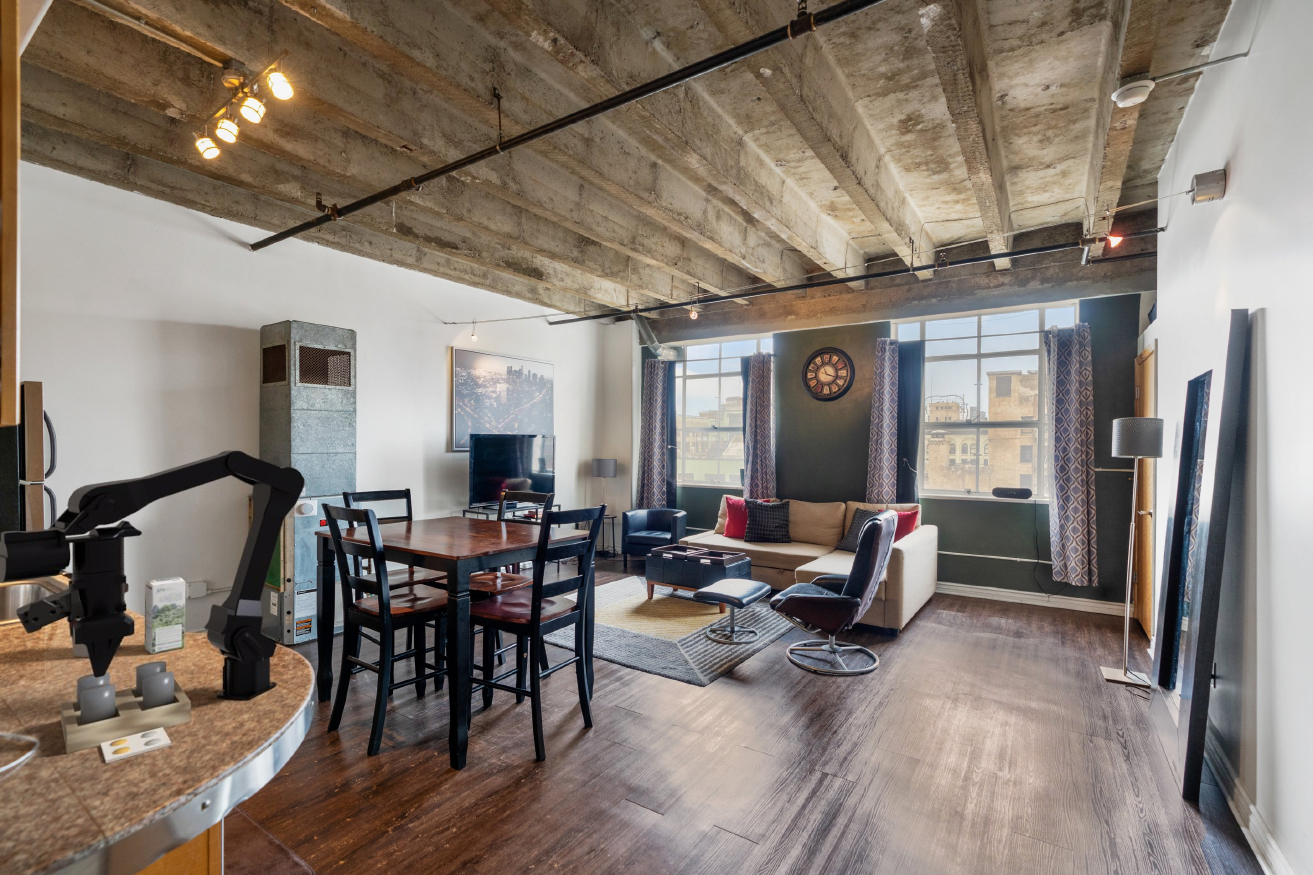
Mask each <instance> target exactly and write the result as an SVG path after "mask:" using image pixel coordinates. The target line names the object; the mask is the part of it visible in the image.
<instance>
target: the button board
mask: <svg viewBox="0 0 1313 875" xmlns="http://www.w3.org/2000/svg"><path fill="white" fill-rule="evenodd" d="M60 716H61V717H60V724H61V728H62V735H63V740H64V745H65V746H64V747H65V750H66V752H65V753H66V754H71V753H75V752H78V751H79V752H80V751H82V750H86V749H90V748H95V747H98V746H101V743H104V742H108V741H111V740H115V739H119V738H123V737H127V736H131V735H134V734H138V733H142V732H146V731H150V730H154V729H157V728H161V727H163V729H166V728H167V729H168V728H170V727H175V726H179V725H182V724H186V723H189V722H192V702H191V700H190V699H189V697H188V696H187V694H186V693H185V691H184V690H183V688H182V687H181V686H180V684H179V683H178V681H177V680H176V679H175V678H174V701H173V702H171V703H169V704H167V705H164V706H160V707H155V708H144V707H143V695H137V694H136V686H134V687H130V688H125V689H121V690H115V715H114V716H112V717H110V718H108V719H105V720H102V721H98V722H92V723H82V722H81V709H79V708H77V699H76V700H71V701H65V702H61V703H60Z"/></svg>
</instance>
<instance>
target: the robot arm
mask: <svg viewBox="0 0 1313 875" xmlns="http://www.w3.org/2000/svg"><path fill="white" fill-rule="evenodd" d="M230 476H231V477H233V478H235V479H237V480H239V481H241V482H243V483H244V484H247V485H250V486H252V493H251V494H252V495H251V499H252V500H251V501H252V506H253V517H252V521H251V525H250V528H249V530H248V534H247V536H246V541H245V544H244V546H243V547H244V548H243V551H242V553H241V557H240V560H239V563H238V567H237V570H236V574H235V577H234V580H233V583H232V586H231V590H230V593H229V595H228V596H227V598H226V599H225V600H224V602H223V603H222V604H220V605H219V604H215V603H213V604H212V605H211V608H210V612H209V614H210V615H209V619H208V621H207V623H206V624H205V626H204V627H203V628H204V629H205V630H207V632H206V633H207V634H206V638H207V640H208V642H209V643H210V644H211V646H213V647H215V648H217V649H218V650H219V652H220V655H222V656H225V657H224V658H223V665H222V691H220V692H218V693H216V694H215V698H221V699H235V700H250V699H253V698H254V697H257V696H259V695H261V694H263V693H265V692H267V691H268V690H271V689H272V688H275V687H276V686H277V685H278V683H277V682H276V681H271V658H272V657H273V656H274V655H275V651H276V648H277V646H278V645H277V642H275V641H273V640H271V639H270V638H268V637H267V636H265V635H264V634H262V633H263V632H262V631H263V624H264V623H263V622H264V614H263V613H264V612H263V607H262V606H263V605H262V596H263V593H264V588H265V586H266V582H267V578H268V575H269V571H270V568H271V565H272V561H273V558H274V555H275V551H276V547H277V544H278V541H279V537H280V533H281V531H282V526H283V524H284V520H285V518H286V517H287V516H288V514H289V513H290V512H291V511H292V509H293V508H294V507H295V506H296V505H297V503H298V500H299V499H300V497H301V495H302V492H303V490H304V488H305V483H306V482H305V477H304V476H303V475H302V473H301V472H300V471H299V469H297V468H294V467H292V466H291V467H290V466H279V465H276V464H273V463H271V462H267V461H264V460H262V459H259V458H256V457H254V456H252V455H249V454H247V453H246V452H244V451H242V450H223V451H221V452H219V453H218V454H216V455H211V456H209V457H208V456H207V457H204V458H201V459H199V460H195V461H192V462H188V463H186V464H181V465H179V466H175V467H172V468H168V469H165V470H161V471H158V472H154V473H151V474H148V475H145V476H142V477H135V478H134V477H133V478H129V479H120V480H112V481H106V482H105V481H104V482H98V483H91V484H87V485H86V484H85V485H83V486H80V487H78V488H76V489H75V490H73V492H72V493H71V495H70V496H69V498H68V501H67V508H66V509H65V510H64V511H63V512H62V513H61V515H59V517H58V518H57V519H56V520H55V521H54V522H53V523H52V524H51V525H50V526H49V527H48V529H37V530H36V529H35V530H27V531H26V530H25V531H22V530H21V531H19V530H10V531H7V530H6V531H2V532H0V584H6V583H14V582H21V581H28V580H35V579H43V578H44V579H45V578H50V577H57V576H59V575H60V573H61V571H64V570H66V569H67V568H69V566H70V563H71V562H72V563H71V564H72V566H71V567H72V570H71V571H72V575H71V576H72V577H71V578H70V580H68V588H67V589H65V590H61V591H59V592H55V593H53V594H51V595H50V594H49V595H47V596H45V597H42V598H40V599H38V600H35V601H31V602H29V603H27V604H25V605H22V606H20V607H19V608H17V609H16V611H15V614H16V616H17V618H18V620H19V622H20V623H21V625H22V626H23V629H24V630H25V632H26V634H32V633H36V632H38V631H41V629H42V628H45V627H46V626H48V625H51V624H54V623H56V622H59V621H60V620H61V621H62V620H64V619H65V618H66V621H67V623H69V622H73V620H74V619H76V620H78V622H77V623H76V624H75V625H73V628H72V629H70V628H69V632H70V631H71V634H73V635H72V637H73V640H74V643H75V644H84V645H86V648H87V652H88V656H89V657H88V660H89V662H90V665H91V669H92V674H94V677H96V678H97V677H102V676H104V675H105V673H107V671H108V669H109V667H110V665H111V663H112V661H113V660H114V657H115V655H116V653H117V651H118V650H119V649H120V648H119V646H120V647H121V644H122V642H123V640H124V638H125V637H130V636H133V635H135V620H134V618H133V617H132V616H131V615H130V614H128V613H127V612H126V611H127V603H126V601H125V602H124V600H125V596H124V583H127V575H126V574H125V538H131V537H132V538H133V537H140V536H141V535H142V534H143V532H142V531H141V530H140V529H137V528H136V527H135V526H133V525H132V524H131V523H130V521H128V520H123V519H125V518H128V517H130V516H131V515H134V514H135V513H137V512H139V511H141V510H142V509H144V508H146V507H147V506H148V505H150V504H152V503H154V502H156V501H158V500H160V499H163V498H166V497H169V496H172V495H175V494H178V493H181V492H185V491H188V490H190V489H194V488H196V487H197V488H198V487H201V486H203V485H206V484H209V483H212V482H215V481H218V480H221V479H224V478H227V477H230ZM119 521H120V522H119ZM117 522H118V524H116V525H114V526H108V525H113V524H115V523H117ZM99 526H103V527H99ZM104 526H105V527H104ZM87 533H88V534H87ZM78 535H79V536H78ZM70 546H72V549H71V547H70ZM71 550H72V555H71ZM71 556H72V558H71ZM71 559H72V561H71ZM122 611H125V612H122ZM72 637H71V638H72ZM118 648H119V649H118ZM117 649H118V650H117ZM270 688H271V689H270ZM266 690H267V691H266ZM260 693H261V694H260Z"/></svg>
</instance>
